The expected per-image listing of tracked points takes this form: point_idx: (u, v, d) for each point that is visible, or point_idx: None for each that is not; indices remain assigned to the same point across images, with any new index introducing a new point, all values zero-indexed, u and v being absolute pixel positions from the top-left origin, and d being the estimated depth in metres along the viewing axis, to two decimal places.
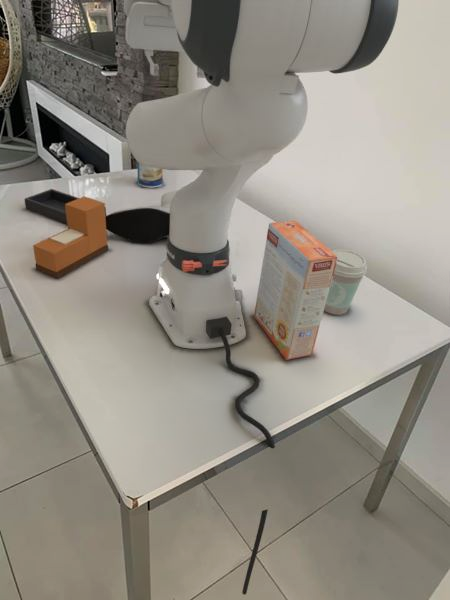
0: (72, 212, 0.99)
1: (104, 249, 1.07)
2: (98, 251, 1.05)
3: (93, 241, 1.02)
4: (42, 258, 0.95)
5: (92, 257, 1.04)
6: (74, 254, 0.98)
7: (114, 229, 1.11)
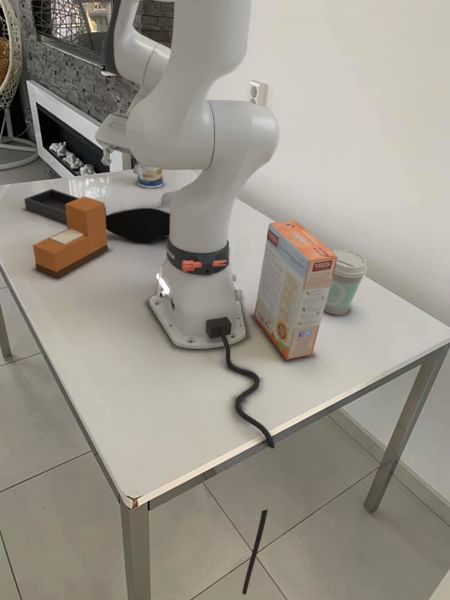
0: (72, 212, 0.99)
1: (104, 249, 1.07)
2: (98, 251, 1.05)
3: (93, 241, 1.02)
4: (42, 258, 0.95)
5: (92, 257, 1.04)
6: (74, 253, 0.98)
7: (114, 229, 1.11)
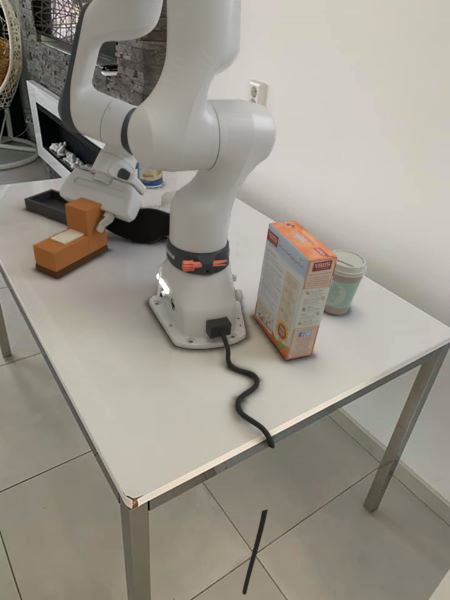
0: (72, 212, 0.99)
1: (104, 249, 1.07)
2: (98, 251, 1.05)
3: (93, 241, 1.02)
4: (42, 258, 0.95)
5: (92, 257, 1.04)
6: (74, 253, 0.98)
7: (114, 229, 1.11)
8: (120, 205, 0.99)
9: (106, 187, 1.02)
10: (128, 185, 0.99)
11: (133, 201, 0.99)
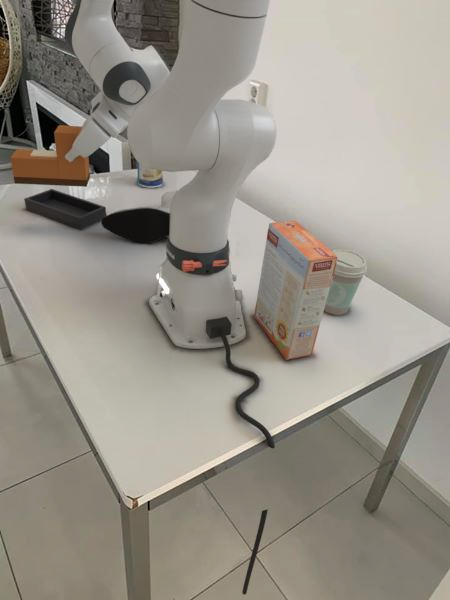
0: None
1: (80, 183, 1.05)
2: (71, 181, 1.05)
3: (64, 168, 1.03)
4: None
5: (62, 183, 1.05)
6: (37, 169, 1.02)
7: (114, 229, 1.11)
8: None
9: None
10: (91, 119, 0.93)
11: (86, 135, 0.93)
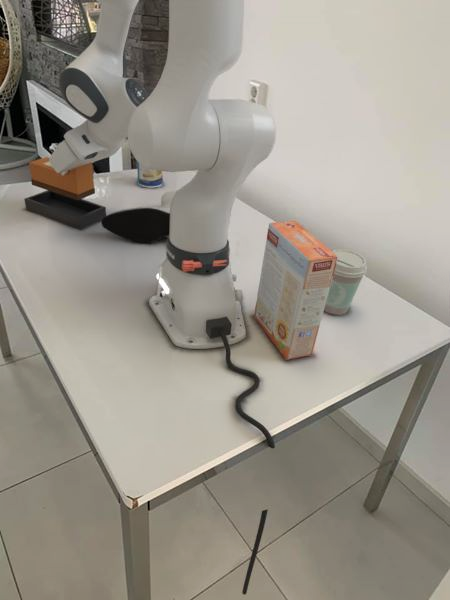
0: None
1: (73, 196, 1.14)
2: (67, 193, 1.14)
3: (63, 180, 1.13)
4: None
5: (61, 193, 1.15)
6: (45, 176, 1.16)
7: (114, 229, 1.11)
8: None
9: None
10: (65, 139, 1.00)
11: (56, 153, 1.00)
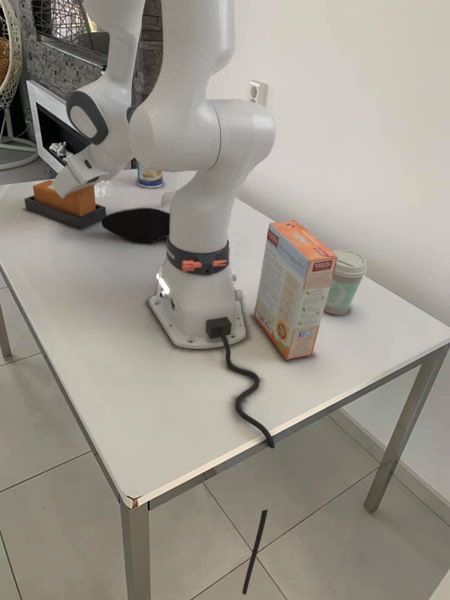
0: None
1: None
2: None
3: (65, 203, 1.17)
4: None
5: None
6: (48, 199, 1.19)
7: (114, 229, 1.11)
8: None
9: None
10: None
11: (59, 177, 1.03)
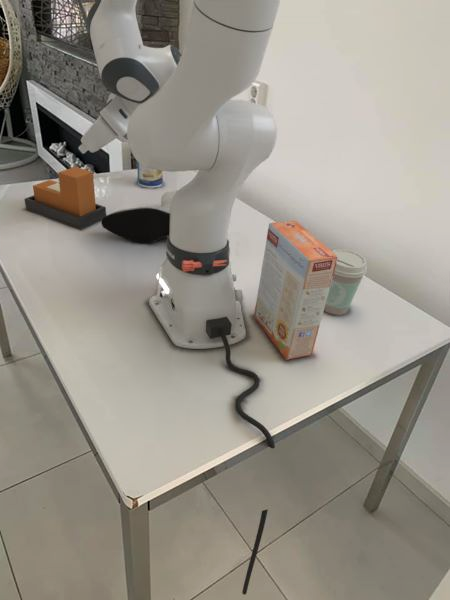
0: None
1: None
2: None
3: (65, 203, 1.17)
4: None
5: None
6: (48, 199, 1.19)
7: (114, 229, 1.11)
8: None
9: None
10: (100, 116, 0.93)
11: (92, 132, 0.93)
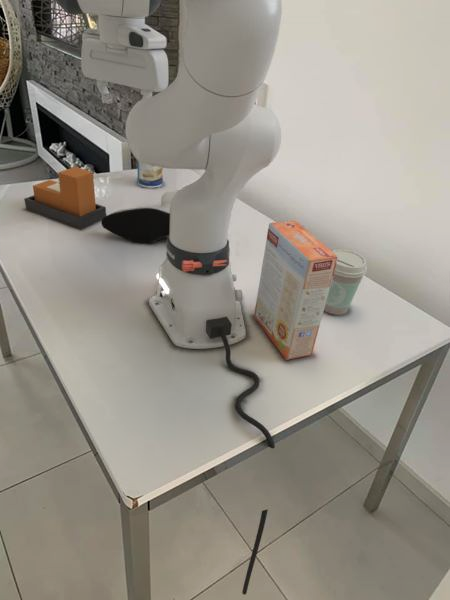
0: None
1: None
2: None
3: (65, 203, 1.17)
4: None
5: None
6: (48, 199, 1.19)
7: (114, 229, 1.11)
8: (148, 79, 0.89)
9: (125, 57, 0.90)
10: (146, 52, 0.86)
11: (159, 69, 0.88)
